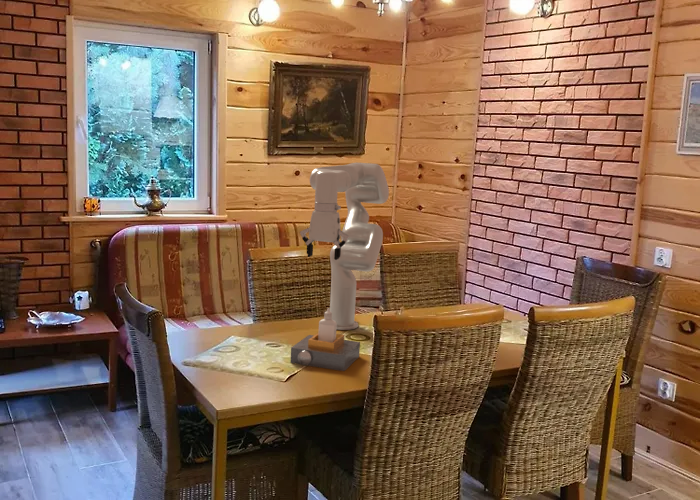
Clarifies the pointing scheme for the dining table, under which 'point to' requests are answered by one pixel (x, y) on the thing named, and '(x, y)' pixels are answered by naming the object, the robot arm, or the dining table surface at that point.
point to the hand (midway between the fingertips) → (323, 257)
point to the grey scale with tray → (325, 352)
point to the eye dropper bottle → (327, 328)
